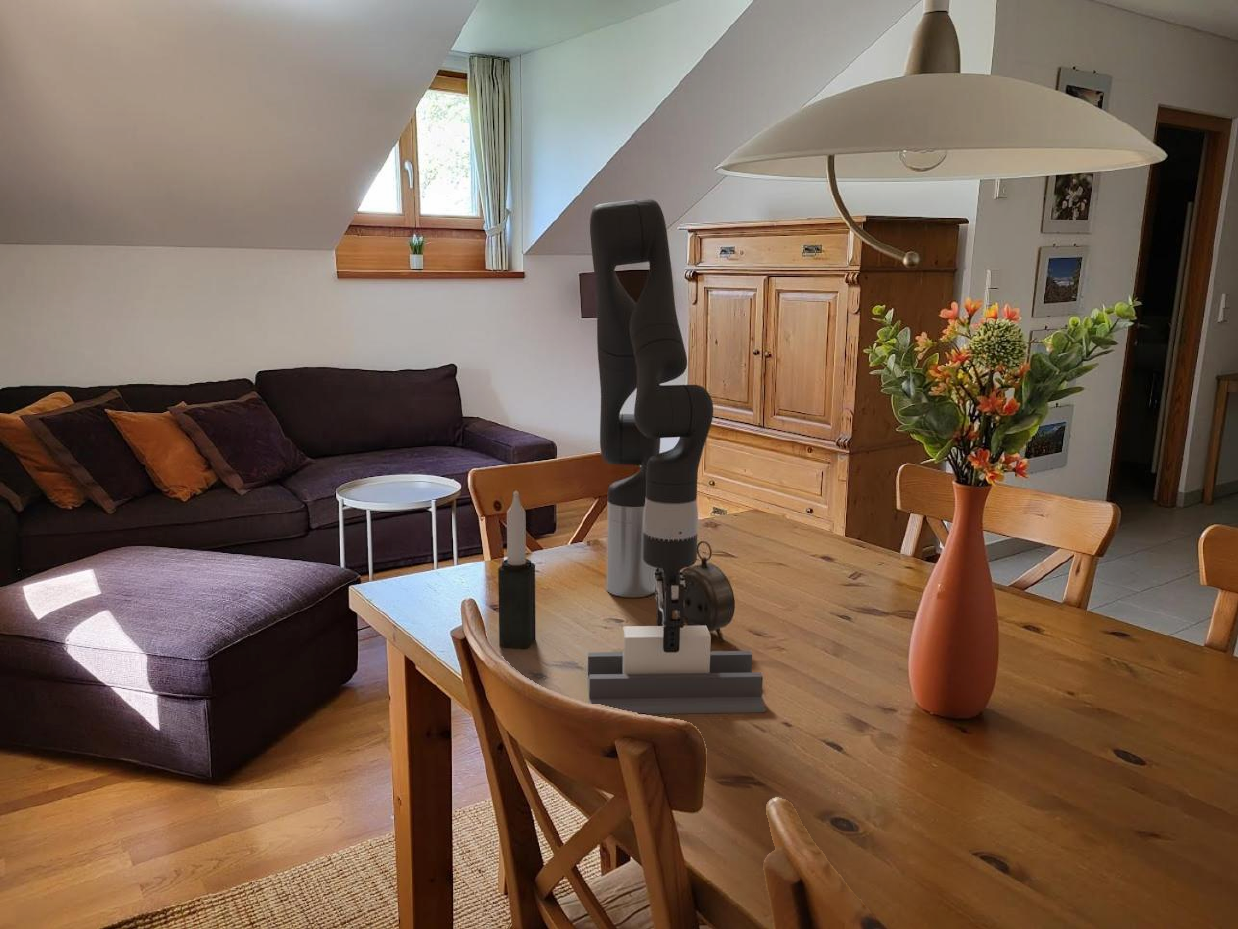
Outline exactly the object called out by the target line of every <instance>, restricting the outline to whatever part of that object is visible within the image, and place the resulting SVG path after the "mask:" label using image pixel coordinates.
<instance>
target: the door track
mask: <svg viewBox="0 0 1238 929" xmlns="http://www.w3.org/2000/svg"><path fill="white" fill-rule="evenodd" d="M587 653H588V654H587V685H588V701H589V702H588V703H591V704H601V705H605V706H609V707H613V708H618V709H622V710H627V711H632V712H637V713H646V714H645V715H658V714H660V715H662V714H663V715H666V714H667V715H670V714H672V715H673V714H724V713H725V714H727V713H728V714H731V713H734V714H736V713H737V714H738V713H766V709H767V706H766V703H765V700H764V699H763V684H764V682H763V681H764V679H763V678H764V677H763V674H762V672H760V671H759V672H752V669H753V653H752V651H751V650H715V651H714V650H712V651H711V650H710V672H709V673H671V674H622V667H623V651H621V652H620V651H618V652H614V651H611V652H604V651H603V652H600V651H599V652H598V651H596V652H587Z"/></svg>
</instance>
